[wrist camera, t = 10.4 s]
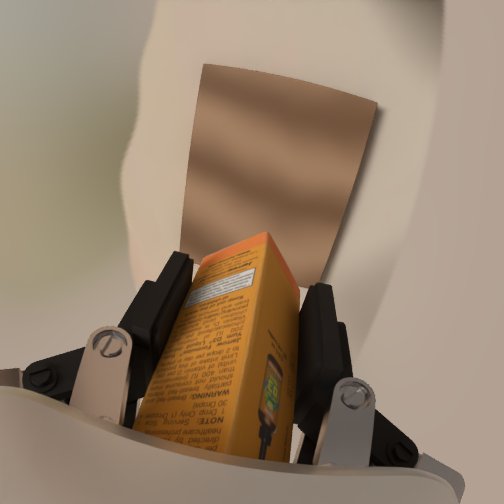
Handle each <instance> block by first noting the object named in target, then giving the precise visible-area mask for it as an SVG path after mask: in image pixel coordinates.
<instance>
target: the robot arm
mask: <svg viewBox="0 0 504 504" xmlns="http://www.w3.org/2000/svg"><path fill="white" fill-rule="evenodd" d="M193 264H194V259H190V258H189V254H186V253H182V252H177V251H174V252H173V254H172V255H171V257H170V259H169V260H168V262H167V264H166V265H165V267H164V269H163V270H162V272H161V274H160V275H159V277H158V279H157V281H156V282H154V281H150V280H146V281H145V282H144V283H143V285H142V287H141V288H140V290H139V292H138V293H137V295H136V296H135V298H134V300H133V302H132V303H131V305H130V306H129V308H128V310H127V311H126V313H125V315H124V317H123V318H122V320H121V321H120V323H119V325H118V327H115V326H106V327H101V328H99V329H97V330H96V331H94V332H93V333H92V334H91V335H90V337H89V339H88V341H87V344H86V347H83V348H80V349H76V350H73V351H70V352H66V353H63V354H60V355H56V356H53V357H50V358H46V359H43V360H39V361H36V362H34V363H32V364H30V365H29V366H28V367H27V368H26V370H24V371H21V370H20V368H13V369H3V370H0V504H460V501H461V498H462V495H463V492H464V489H465V482H464V479H463V477H462V475H461V474H460V473H458V472H457V471H455V470H453V469H451V468H450V467H448V466H446V465H444V464H442V463H441V462H439V461H437V460H435V459H434V458H432V457H430V456H429V455H427V454H425V453H423V454H419V453H418V449H417V447H416V445H415V444H414V442H413V441H412V440H411V439H410V438H409V437H407V436H406V435H405V434H404V433H403V432H401V431H400V430H399V429H398V428H397V427H396V426H395V425H393V424H392V423H391V422H390V421H389V420H387V419H386V418H385V417H384V416H383V415H382V414H381V413H379V412H378V411H377V410H376V409H375V402H376V400H375V394H374V392H373V390H372V388H371V387H370V386H369V385H368V384H367V383H366V382H364V381H363V380H360V379H358V378H353V372H352V364H351V357H350V351H349V344H348V338H347V331H346V326H345V324H344V323H343V322H338V321H337V317H336V310H335V303H334V297H333V290H332V286H331V285H328V284H323V283H318V282H317V283H316V284H315V286H314V285H310V287H309V289H308V292H307V295H306V297H305V300H304V302H303V305H302V308H301V310H300V313H299V339H298V361H297V377H296V392H295V407H294V419H293V424H298V428H299V429H300V430H301V431H302V434H301V438H300V441H299V445H298V448H297V451H296V455H295V458H294V461H293V463H283V462H274V461H267V460H259V459H252V458H246V457H240V456H234V455H229V454H223V453H218V452H213V451H209V450H204V449H200V448H195V447H191V446H187V445H183V444H179V443H175V442H172V441H168V440H164V439H161V438H157V437H154V436H151V435H147V434H144V433H141V432H138V431H135V430H132V427H133V424H134V422H135V420H136V417H137V414H138V412H139V406H140V398H143V397H144V396H145V394H146V391H147V388H148V386H149V383H150V381H151V379H152V376H153V374H154V371H155V369H156V366H157V364H158V361H159V360H160V357H161V355H162V352H163V350H164V348H165V345H166V343H167V340H168V338H169V335H170V333H171V330H172V328H173V325H174V323H175V321H176V318H177V316H178V313H179V311H180V309H181V307H182V305H183V302H184V300H185V298H186V295H187V293H188V291H189V289H190V287H191V284H192V274H193Z"/></svg>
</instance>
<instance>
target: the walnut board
mask: <svg viewBox="0 0 504 504" xmlns="http://www.w3.org/2000/svg"><path fill="white" fill-rule="evenodd" d="M376 107H377V102H374V101H371V100H368V99H365V98H362V97H359V96H355V95H352V94H349V93H346V92H342V91H339V90H336V89H332V88H328V87H325V86H321V85H317V84H313V83H309V82H305V81H301V80H297V79H293V78H288V77H284V76H279V75H274V74H269V73H264V72H258V71H253V70H247V69H241V68H234V67H227V66H220V65H212V64H203V69H202V75H201V81H200V86H199V92H198V98H197V105H196V111H195V118H194V124H193V131H192V138H191V146H190V153H189V161H188V169H187V178H186V187H185V196H184V206H183V216H182V227H181V239H180V252H182V253H186V254H189V258H190V259H194V263H195V264H199V265H200V264H201V262H202V260H203V258H204V257H206V256H208V255H210V254H213V253H215V252H217V251H220V250H222V249H224V248H227V247H229V246H231V245H234V244H236V243H238V242H241V241H243V240H246V239H248V238H250V237H253V236H256V235H258V234H260V233H263V232H269V233H270V235H271V236H272V238H273V240H274V242H275V244H276V245H277V247H278V249H279V251H280V253H281V254H282V256H283V258H284V260H285V262H286V264H287V265H288V267H289V269H290V271H291V273H292V275H293V277H294V279H295V281H296V283H297V285H298V286H300V287H304V288H309V287H310V285H314V286H315V284H316V283H317V282H318V283H319V281H320V278H321V276H322V273H323V270H324V268H325V265H326V262H327V260H328V257H329V254H330V252H331V249H332V246H333V243H334V241H335V238H336V235H337V232H338V229H339V226H340V224H341V221H342V218H343V215H344V212H345V209H346V206H347V203H348V200H349V197H350V194H351V191H352V188H353V185H354V182H355V179H356V175H357V172H358V169H359V166H360V163H361V159H362V156H363V153H364V149H365V146H366V143H367V139H368V136H369V132H370V129H371V125H372V122H373V118H374V114H375V111H376Z"/></svg>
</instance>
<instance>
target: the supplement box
mask: <svg viewBox="0 0 504 504" xmlns="http://www.w3.org/2000/svg"><path fill="white" fill-rule="evenodd" d="M299 309H300V290H299V287H298V285H297V283H296V281H295V279H294V277H293V275H292V273H291V271H290V269H289V267H288V265H287V264H286V262H285V260H284V258H283V256H282V254H281V253H280V251H279V249H278V247H277V245H276V244H275V242H274V240H273V238H272V236H271V235H270V233H269V232H263V233H260V234H258V235H256V236H253V237H250V238H248V239H246V240H243V241H241V242H238V243H236V244H234V245H231V246H229V247H227V248H224V249H222V250H220V251H217V252H215V253H213V254H210V255H208V256H206V257H204V258H203V260H202V262H201V264H200V267H199V269H198V271H197V273H196V275H195V278H194V280H193V282H192V284H191V287H190V289H189V291H188V293H187V295H186V298H185V300H184V302H183V305H182V307H181V309H180V311H179V313H178V316H177V318H176V321H175V323H174V325H173V328H172V330H171V333H170V335H169V338H168V340H167V343H166V345H165V348H164V350H163V352H162V355H161V357H160V360H159V361H158V364H157V366H156V369H155V371H154V374H153V376H152V379H151V381H150V383H149V386H148V388H147V391H146V394H145V396H144V398H143V401H142V403H141V406H140V409H139V412H138V414H137V417H136V420H135V422H134V424H133V427H132V430H135V431H138V432H141V433H144V434H147V435H151V436H154V437H157V438H161V439H164V440H168V441H172V442H175V443H179V444H183V445H187V446H191V447H195V448H200V449H204V450H209V451H213V452H218V453H223V454H229V455H234V456H240V457H246V458H252V459H259V460H267V461H274V462H283V463H289V461H290V451H291V441H292V430H293V419H294V407H295V392H296V377H297V361H298V339H299Z"/></svg>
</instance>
